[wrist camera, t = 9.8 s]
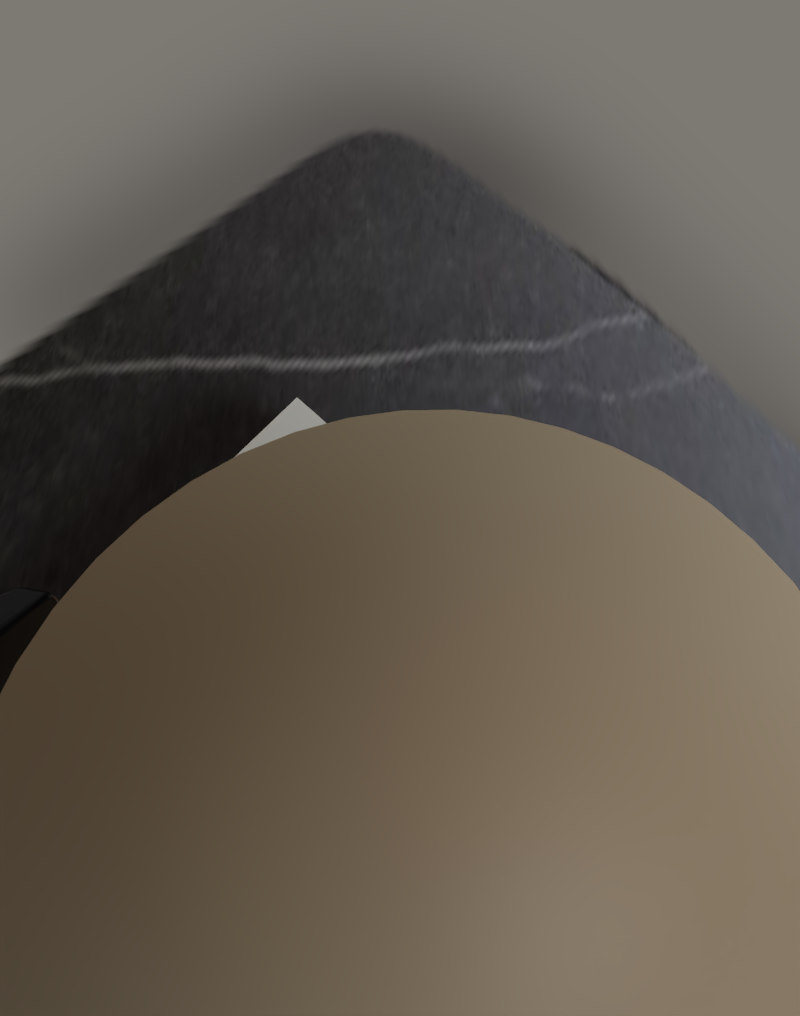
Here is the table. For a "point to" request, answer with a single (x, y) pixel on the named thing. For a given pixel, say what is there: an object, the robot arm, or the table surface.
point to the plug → (410, 743)
